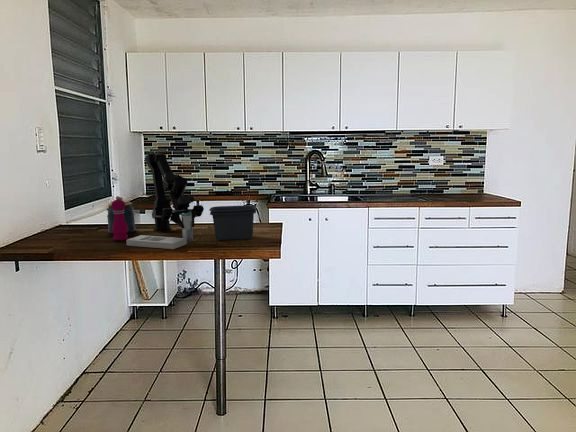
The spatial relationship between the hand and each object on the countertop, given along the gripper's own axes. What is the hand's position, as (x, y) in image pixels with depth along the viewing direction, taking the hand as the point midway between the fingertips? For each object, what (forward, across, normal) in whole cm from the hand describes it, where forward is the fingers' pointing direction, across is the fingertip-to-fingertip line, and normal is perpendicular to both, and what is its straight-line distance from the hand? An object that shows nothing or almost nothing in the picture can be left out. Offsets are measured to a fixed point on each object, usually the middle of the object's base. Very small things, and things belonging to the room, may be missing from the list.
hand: (188, 227), depth 205 cm
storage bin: (+8, +21, +2) cm, 22 cm away
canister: (-26, -18, +35) cm, 47 cm away
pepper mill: (-14, -23, +23) cm, 35 cm away
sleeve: (+4, 0, +6) cm, 7 cm away
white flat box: (+2, -14, +7) cm, 15 cm away
